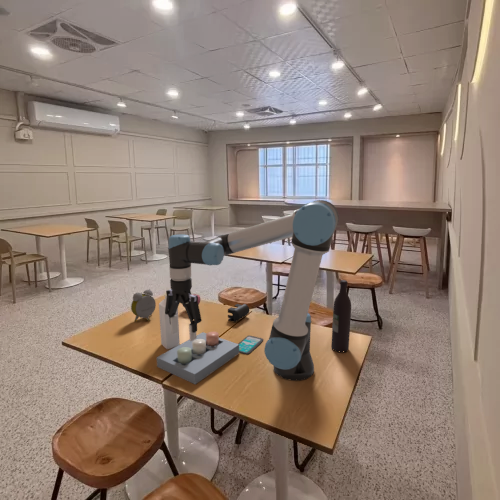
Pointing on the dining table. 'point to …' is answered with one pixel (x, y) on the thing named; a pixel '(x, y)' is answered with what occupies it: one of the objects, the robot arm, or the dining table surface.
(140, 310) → the alarm clock
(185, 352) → the button sage
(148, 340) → the dining table surface
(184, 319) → the dining table surface
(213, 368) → the console
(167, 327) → the milk
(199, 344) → the button cream
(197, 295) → the apple
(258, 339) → the smartphone
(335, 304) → the wine bottle
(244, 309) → the end cap
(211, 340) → the button terracotta
